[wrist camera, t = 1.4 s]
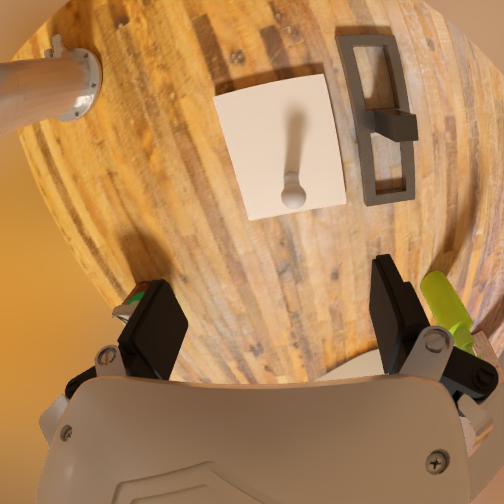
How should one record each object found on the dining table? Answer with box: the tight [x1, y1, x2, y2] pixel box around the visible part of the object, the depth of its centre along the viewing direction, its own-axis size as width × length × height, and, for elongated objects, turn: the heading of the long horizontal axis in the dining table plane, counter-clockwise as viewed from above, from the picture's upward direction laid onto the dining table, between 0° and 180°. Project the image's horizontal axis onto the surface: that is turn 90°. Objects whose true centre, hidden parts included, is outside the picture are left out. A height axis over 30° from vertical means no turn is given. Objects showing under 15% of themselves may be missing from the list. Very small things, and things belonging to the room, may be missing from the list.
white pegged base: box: [212, 74, 346, 221], centre depth 30 cm, size 18×14×9 cm
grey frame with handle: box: [335, 35, 418, 206], centre depth 27 cm, size 24×8×8 cm, turn 15°
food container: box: [112, 281, 151, 324], centre depth 46 cm, size 12×6×10 cm, turn 43°
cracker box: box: [472, 330, 504, 385], centre depth 47 cm, size 14×6×21 cm, turn 26°
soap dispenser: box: [420, 270, 482, 359], centre depth 36 cm, size 6×7×20 cm
